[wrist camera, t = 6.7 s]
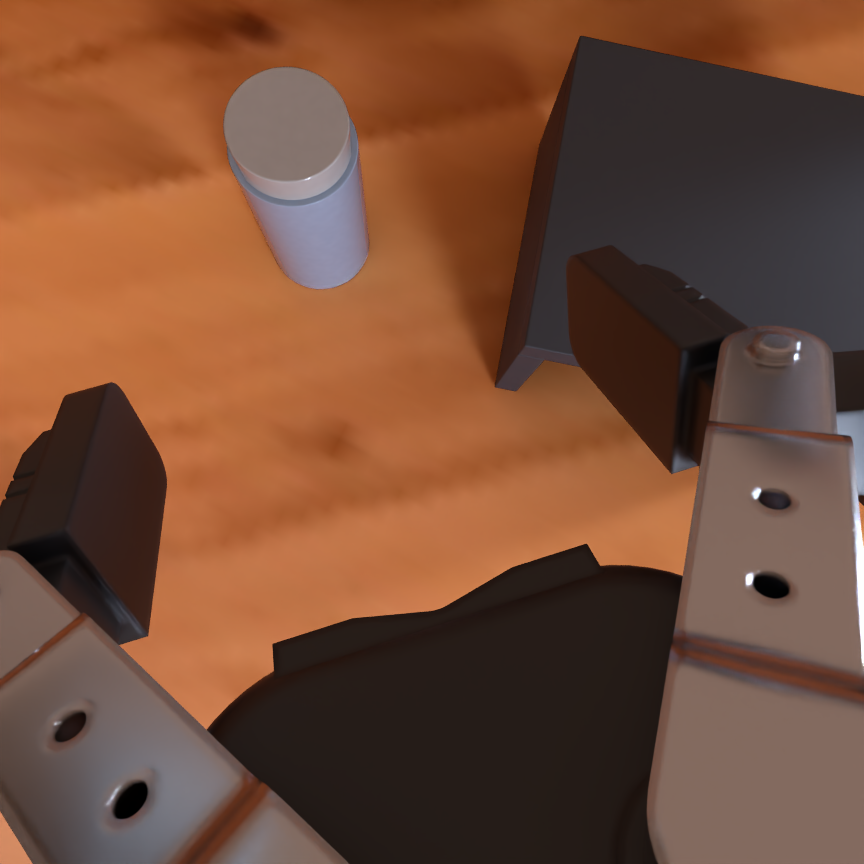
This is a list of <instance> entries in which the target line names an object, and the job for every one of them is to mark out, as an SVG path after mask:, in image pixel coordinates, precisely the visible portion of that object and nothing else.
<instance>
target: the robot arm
mask: <svg viewBox="0 0 864 864" xmlns="http://www.w3.org/2000/svg"><path fill="white" fill-rule="evenodd" d="M566 283H567V304H568V326H569V339H570V344H571V348H572V351H573V354H574V356H575V358H576V361H577V362H578V364H579V365H580V367H581V368H582V369H583V370H584V371H585V373H586V374H587V375H588V376H589V377H590V379H591V380H592V381H593V382H594V383H595V384H596V386H597V387H598V388H599V389H600V390H601V392H602V393H603V394H604V395H605V396H606V397H607V399H608V400H609V401H610V402H611V403H612V404H613V406H614V407H615V408H616V409H617V410H618V412H619V413H620V414H621V415H622V416H623V417H624V419H625V420H626V421H627V422H628V423H629V425H630V426H631V427H632V428H633V429H634V430H635V432H636V433H637V434H638V435H639V436H640V437H641V439H642V440H643V441H644V442H645V443H646V445H647V446H648V447H649V448H650V449H651V450H652V452H653V453H654V454H655V455H656V456H657V458H658V459H659V460H660V461H661V462H662V463H663V465H664V466H665V467H666V468H667V469H668V470H669V472H670V473H671V474H673V473H676V472H679V471H683V470H686V469H689V468H692V467H695V466H699V467H700V470H699V477H698V483H697V489H696V496H695V502H694V508H693V515H692V521H691V527H690V534H689V540H688V547H687V553H686V559H685V566H684V572H683V576H681V575H678V574H675V573H672V572H668V571H663V570H658V569H653V568H648V567H639V566H630V565H606V566H600V565H599V563H598V561H597V560H596V558H595V557H594V555H593V553H592V552H591V550H590V548H589V547H588V545H587V544H584V545H581V546H578V547H574V548H571V549H568V550H565V551H562V552H559V553H556V554H553V555H549V556H546V557H543V558H540V559H537V560H534V561H531V562H528V563H524V564H521V565H518V566H515V567H512V568H510V569H509V570H507V571H505V572H503V573H502V574H500V575H498V576H497V577H495V578H493V579H491V580H490V581H488V582H486V583H485V584H483V585H481V586H480V587H478V588H476V589H474V590H473V591H471V592H469V593H468V594H466V595H464V596H462V597H461V598H459V599H457V600H456V601H454V602H452V603H451V604H449V605H447V606H445V607H443V608H441V609H438V610H434V611H428V612H417V613H406V614H395V615H384V616H374V617H363V618H352V619H349V620H346V621H343V622H340V623H337V624H333V625H330V626H327V627H324V628H321V629H318V630H315V631H312V632H308V633H305V634H302V635H299V636H296V637H293V638H290V639H287V640H283V641H280V642H277V643H274V644H273V662H274V671H273V672H272V673H270V674H269V675H267V676H265V677H264V678H262V679H261V680H259V681H258V682H257V683H255V684H254V685H252V686H251V687H250V688H248V689H247V690H246V691H244V692H243V693H242V694H241V695H240V696H239V697H238V698H236V699H235V700H234V701H233V702H232V703H231V704H230V705H229V706H228V707H227V708H226V709H225V710H224V711H223V712H222V713H221V714H220V715H219V716H218V717H217V718H216V719H215V720H214V721H213V723H212V724H211V725H210V726H209V728H208V729H207V730H206V729H205V728H204V727H203V726H202V725H201V724H200V723H199V722H198V721H197V720H196V719H195V718H193V717H192V716H191V715H190V714H189V713H188V712H187V711H186V710H185V709H184V708H183V707H182V706H181V705H180V704H179V703H178V702H177V701H176V700H175V699H174V698H173V697H172V696H171V695H170V694H169V693H168V692H167V691H166V690H165V689H163V688H162V687H161V686H160V685H159V684H158V683H157V682H156V681H155V680H154V679H153V678H152V677H151V676H150V675H149V674H148V673H147V672H146V671H145V670H144V669H143V668H142V667H141V666H140V665H139V664H138V663H137V662H136V661H135V660H134V659H132V658H131V657H130V656H129V655H128V654H127V653H126V652H125V651H124V650H123V649H122V648H121V647H120V646H119V645H121V644H124V643H127V642H130V641H133V640H137V639H140V638H143V637H146V636H148V633H149V625H150V617H151V609H152V601H153V593H154V585H155V577H156V569H157V561H158V553H159V545H160V537H161V529H162V521H163V513H164V505H165V497H166V489H167V478H166V472H165V468H164V464H163V461H162V459H161V456H160V454H159V452H158V450H157V449H156V447H155V445H154V443H153V442H152V440H151V438H150V437H149V435H148V433H147V431H146V430H145V428H144V426H143V425H142V423H141V421H140V419H139V418H138V416H137V414H136V413H135V411H134V409H133V407H132V406H131V404H130V402H129V401H128V399H127V397H126V395H125V394H124V392H123V391H122V390H121V388H120V387H119V386H118V385H116V384H115V383H112V382H111V383H107V384H104V385H100V386H96V387H93V388H89V389H86V390H82V391H78V392H75V393H71V394H68V395H66V396H65V397H64V398H63V401H62V403H61V406H60V408H59V411H58V414H57V416H56V419H55V421H54V424H53V427H52V429H51V430H48V431H44V432H43V433H42V434H41V435H40V436H39V437H38V438H37V439H36V440H35V441H34V442H33V444H32V445H31V446H30V447H29V448H28V449H27V450H26V451H25V452H24V453H23V454H22V456H21V459H20V461H19V463H18V466H17V468H16V471H15V473H14V475H13V478H14V481H11V482H10V485H9V487H8V489H7V492H6V494H5V496H6V499H5V500H3V501H2V503H1V506H0V812H1V813H2V815H3V816H4V818H5V820H6V821H7V823H8V825H9V826H10V828H11V829H12V831H13V833H14V834H15V836H16V837H17V839H18V841H19V842H20V844H21V845H22V847H23V849H24V850H25V852H26V853H27V855H28V857H29V858H30V860H31V862H32V863H33V864H864V558H863V546H862V535H861V523H860V512H859V502H860V503H861V504H862V505H863V506H864V350H857V351H845V352H832V351H831V349H830V347H829V346H828V345H827V344H826V343H825V342H824V341H823V340H822V339H820V338H819V337H817V336H815V335H813V334H811V333H808V332H806V331H803V330H799V329H795V328H790V327H784V326H756V327H750V328H749V327H748V326H746V325H745V324H743V323H742V322H741V321H739V320H738V319H737V318H735V317H734V316H732V315H731V314H730V313H728V312H727V311H725V310H724V309H723V308H721V307H720V306H718V305H717V304H716V303H714V302H713V301H711V300H710V299H709V298H704V295H703V294H702V293H700V292H699V291H697V290H696V289H695V288H693V287H691V288H690V287H689V284H688V283H686V282H685V281H684V280H682V279H681V278H679V277H678V276H677V275H675V274H674V273H672V272H671V271H667V270H664V269H661V268H658V267H654V266H651V265H648V264H641V265H638V264H637V263H635V262H634V261H633V260H632V259H630V258H629V257H628V256H626V255H625V254H624V253H622V252H621V251H620V250H618V249H617V248H616V247H614V246H612V245H608V246H605V247H601V248H597V249H594V250H590V251H587V252H583V253H579V254H576V255H572V256H570V257H569V258H568V261H567V264H566Z"/></svg>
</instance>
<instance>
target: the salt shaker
mask: <svg viewBox="0 0 864 864" xmlns="http://www.w3.org/2000/svg"><path fill="white" fill-rule="evenodd" d="M223 130H224V137H225V141H226V144H227V155H228V160H229V164H230V166H231V169H232V171H233V173H234V176H235V178H236V180H237V182H238V184H239V186H240V188H241V190H242V192H243V194H244V196H245V198H246V200H247V202H248V204H249V206H250V208H251V211H252V213H253V215H254V217H255V219H256V221H257V223H258V225H259V227H260V229H261V231H262V233H263V235H264V237H265V239H266V241H267V243H268V246H269V248H270V250H271V252H272V254H273V256H274V258H275V260H276V262H277V264H278V266H279V267H280V269H281V270H282V271H283V273H284V274H285V275H286V276H287V277H289V278H290V279H291V280H293V281H294V282H296V283H298V284H300V285H302V286H305V287H309V288H314V289H328V288H333V287H337V286H339V285H342V284H344V283H346V282H347V281H349V280H350V279H352V278H353V277H354V276H355V275H356V274H357V273H358V272H359V271H360V270H361V268H362V266H363V265H364V263H365V261H366V259H367V255H368V252H369V233H368V224H367V215H366V207H365V198H364V189H363V180H362V171H361V162H360V154H359V145H358V137H357V133H356V129H355V126H354V124H353V122H352V120H351V118H350V116H349V114H348V110H347V107H346V105H345V102H344V100H343V99H342V97H341V95H340V94H339V92H338V91H337V90H336V89H335V88H334V87H333V86H332V85H331V84H330V83H329V82H328V81H327V80H325V79H324V78H323V77H321V76H319V75H317V74H316V73H313V72H311V71H308V70H305V69H301V68H296V67H276V68H271V69H267V70H264V71H261V72H259V73H257V74H255V75H253V76H251V77H250V78H248V79H247V80H246V81H244V82H243V83H242V84H241V85H240V86H239V87H238V88H237V89H236V90H235V92H234V93H233V95H232V96H231V98H230V100H229V102H228V104H227V107H226V110H225V114H224V119H223Z"/></svg>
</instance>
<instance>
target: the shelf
mask: <svg viewBox="0 0 864 864" xmlns="http://www.w3.org/2000/svg"><path fill="white" fill-rule="evenodd" d="M608 245H612V246H614V247H616V248H617V249H618V250H620V251H621V252H622V253H624V254H625V255H626V256H628V257H629V258H630V259H632V260H633V261H634V262H635V263H637V264H638V265H641V264H648V265H651V266H654V267H658V268H661V269H664V270H667V271H671V272H672V273H674V274H675V275H677V276H678V277H679V278H681V279H682V280H684V281H685V282H686V283H688V284H689V287H690V288H691V287H693V288H695V289H696V290H697V291H699V292H700V293H702V294H703V295H704V298H709V299H710V300H711V301H713V302H714V303H716V304H717V305H718V306H720V307H721V308H723V309H724V310H725V311H727V312H728V313H730V314H731V315H732V316H734V317H735V318H737V319H738V320H739V321H741V322H742V323H743V324H745V325H746V326H748V327H749V328H750V327H756V326H784V327H790V328H795V329H799V330H803V331H806V332H808V333H811V334H813V335H815V336H817V337H819V338H820V339H822V340H823V341H824V342H825V343H826V344H827V345H828V346H829V347H830V349H831V351H832V352H845V351H857V350H864V96H860V95H855V94H850V93H846V92H841V91H836V90H832V89H827V88H822V87H818V86H813V85H808V84H804V83H799V82H794V81H790V80H785V79H780V78H776V77H771V76H767V75H762V74H757V73H753V72H748V71H743V70H739V69H734V68H729V67H725V66H720V65H715V64H711V63H706V62H701V61H697V60H692V59H687V58H683V57H678V56H673V55H669V54H664V53H659V52H655V51H650V50H645V49H641V48H636V47H631V46H627V45H622V44H617V43H613V42H608V41H603V40H599V39H594V38H589V37H585V36H580V37H579V40H578V42H577V45H576V48H575V50H574V53H573V56H572V59H571V61H570V64H569V66H568V69H567V72H566V74H565V77H564V80H563V82H562V85H561V88H560V90H559V93H558V96H557V99H556V101H555V104H554V107H553V109H552V112H551V115H550V117H549V120H548V123H547V125H546V128H545V131H544V134H543V136H542V139H541V142H540V144H539V149H538V155H537V160H536V166H535V171H534V176H533V182H532V187H531V193H530V198H529V203H528V209H527V214H526V220H525V225H524V231H523V236H522V241H521V247H520V252H519V258H518V263H517V268H516V274H515V279H514V285H513V290H512V296H511V301H510V306H509V312H508V317H507V323H506V328H505V333H504V339H503V344H502V350H501V355H500V361H499V366H498V371H497V377H496V382H495V387H497V388H502V389H507V390H512V391H517V390H518V388H519V387H520V386H521V385H522V384H523V383H524V382H525V381H526V380H527V379H528V377H529V376H530V375H531V374H532V373H533V372H534V371H535V370H536V369H537V368H538V366H539V365H540V364H541V363H542V362H543V361H544V360H549V361H553V362H558V363H563V364H568V365H573V366H578V367H580V365H579V364H578V362H577V361H576V358H575V356H574V354H573V351H572V348H571V344H570V339H569V326H568V304H567V283H566V264H567V261H568V258H569V257H570V256H572V255H576V254H579V253H583V252H587V251H590V250H594V249H597V248H601V247H605V246H608Z"/></svg>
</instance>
